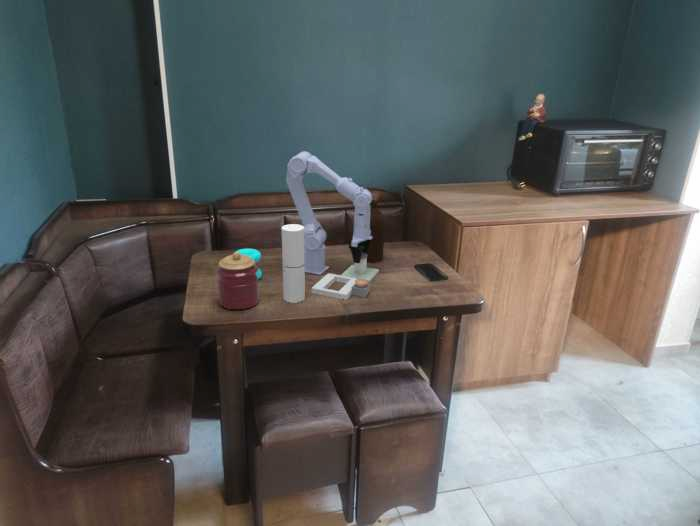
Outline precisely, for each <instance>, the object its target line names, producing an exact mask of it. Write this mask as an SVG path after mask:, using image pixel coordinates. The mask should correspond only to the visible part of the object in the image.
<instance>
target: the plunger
mask: <svg viewBox="0 0 700 526" xmlns="http://www.w3.org/2000/svg"><path fill="white" fill-rule="evenodd" d="M368 284H369V283H368V281H367V280H366V279H356V280H355V285H356V286H355V287H359V288H365V287H366V286H367V285H368Z"/></svg>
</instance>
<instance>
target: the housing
mask: <svg viewBox="0 0 700 526" xmlns="http://www.w3.org/2000/svg"><path fill="white" fill-rule="evenodd" d="M341 275H342V274H340V275H339V274H335V273H331V272H330V273H329V272H327V274H325V275H324V276H323V277H322V278H321V279H319V281H317V283H315V284H314V285H313V286H312V287H311V289H310V290H311V294H313V295H317V296H323V295H324V297H328V298H329V297H330V298H334V299H339V300H343V299H344V300H343V301H347V300H349V298H351V296H354V295H356V296H355V297H359V296H361V298H364V297H365V298H367V296H368V295H369V294H370V293H371V283H368V285H367V286H366V287H365V288H359V287H355V286H356V285H355V280H356V279H357V278H351V277H346V276H341ZM335 282H337V283H341V284H345V285H344V286H342V288H340V289H339V290H335V289H329V288H330V287H331V286H332V285H333V284H334V283H335ZM369 292H370V293H369ZM368 293H369V294H368Z"/></svg>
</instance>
